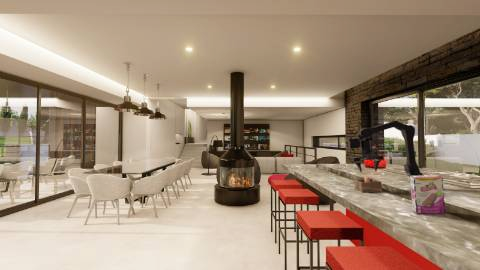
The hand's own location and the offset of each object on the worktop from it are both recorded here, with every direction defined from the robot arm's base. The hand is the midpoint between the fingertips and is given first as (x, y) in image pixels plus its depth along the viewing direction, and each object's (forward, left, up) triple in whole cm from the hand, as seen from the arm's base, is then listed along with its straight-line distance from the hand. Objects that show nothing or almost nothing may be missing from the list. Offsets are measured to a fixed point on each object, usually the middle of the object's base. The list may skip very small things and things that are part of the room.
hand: (368, 171), depth 165 cm
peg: (0, -1, -12) cm, 12 cm away
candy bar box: (+38, +34, -12) cm, 53 cm away
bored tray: (0, -1, -12) cm, 12 cm away
